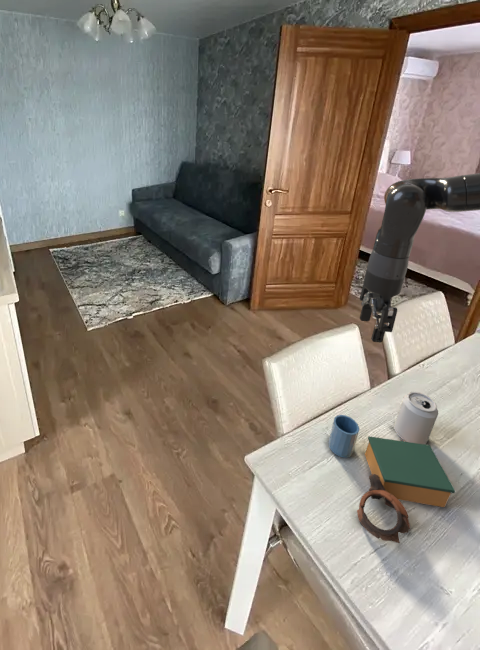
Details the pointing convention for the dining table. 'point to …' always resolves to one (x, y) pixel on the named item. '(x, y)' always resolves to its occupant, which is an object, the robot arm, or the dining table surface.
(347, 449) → the cup
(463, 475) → the dining table surface
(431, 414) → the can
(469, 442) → the dining table surface
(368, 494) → the brown jagged ring
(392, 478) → the container
